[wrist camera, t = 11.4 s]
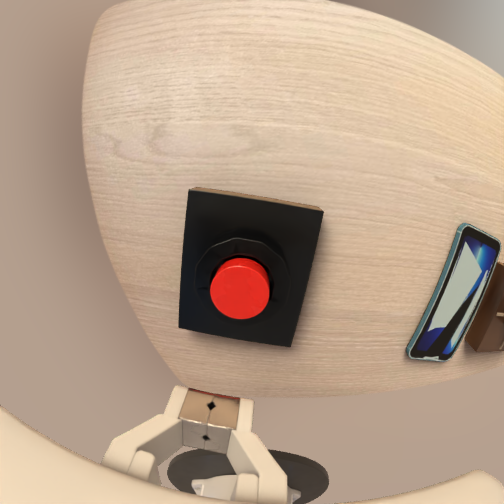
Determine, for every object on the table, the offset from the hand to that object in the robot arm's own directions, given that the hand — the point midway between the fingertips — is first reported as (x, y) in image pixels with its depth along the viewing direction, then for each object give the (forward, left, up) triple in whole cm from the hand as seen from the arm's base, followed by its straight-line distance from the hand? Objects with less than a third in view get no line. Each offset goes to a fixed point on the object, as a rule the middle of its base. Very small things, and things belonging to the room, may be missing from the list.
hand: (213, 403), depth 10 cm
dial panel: (0, -32, -15) cm, 35 cm away
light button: (0, 0, -12) cm, 12 cm away
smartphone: (0, -22, -15) cm, 27 cm away
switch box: (0, 0, -15) cm, 15 cm away
